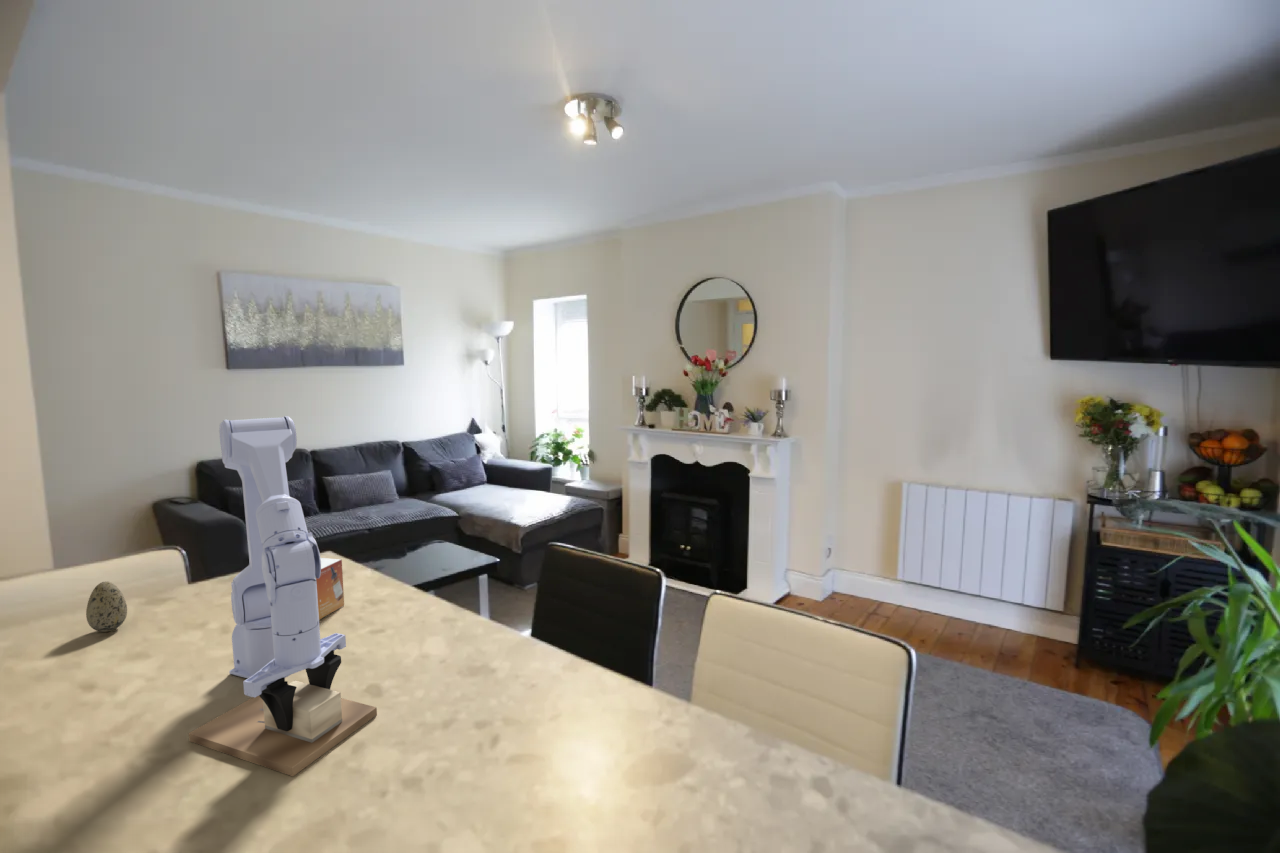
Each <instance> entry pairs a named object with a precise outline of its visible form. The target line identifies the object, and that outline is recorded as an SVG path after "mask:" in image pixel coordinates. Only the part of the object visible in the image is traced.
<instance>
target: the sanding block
mask: <svg viewBox="0 0 1280 853" xmlns="http://www.w3.org/2000/svg"><path fill="white" fill-rule="evenodd" d="M288 685H292V686H295V687H297V688H296V690H295V694H294V698H293V707H292V711H293V726H292V729H291V730H289V731H283V730H280V729H277V726H276V723H275V720H274V718H273V716H272V714H271V712H270V710H269V708H268V706H267V705H266V704H265V702H264V701H263V708H264V720H265V729H269V730H272V731H275V732H279V733H282V734H285V735H288V736H292V737H295V738H298V739H301V740H305V741H308V742H311V743H313V742H314V741H315V740H317V739H318V738H320V737H321V736H323V735H324V734H325V733H327V732H328V731H330V730H331V729H333V728H334V727H335V726H337V725H338V724H340V723H341V722H342V708H341V698H342V696H341V695H342V694H341V691H336V690H333V689H331V688H330V689H326V688H322V687H318V686H314V685H310V684H309V683H306V682H302V681H298V680H293V681H291V682H290V683H288Z"/></svg>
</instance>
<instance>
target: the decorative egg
mask: <svg viewBox="0 0 1280 853" xmlns="http://www.w3.org/2000/svg"><path fill="white" fill-rule="evenodd" d="M89 595H90V596H89V598H88V600H87V606H86V609H85V610H86V611H85V613H86V614H85V615H86V621H87V623H88V624H87V625H89V627H90V628H91V629H93V631H97V632H99V633H100V632H101V633H108V632H111V631H114V630H116V629H118V628H119V627H121V625H122V624H124V622H125V620H126V618H127V615H128V604H127V602H126V599H125V596H124V594H123V593H122V591H121V590H120V588H119V587H118V586H117V585H116V584H114V583H113V582H110V581H102V582H100V583H98V584H97V585H96V586H95V587H94V588H93V589H92V591H91V593H90V594H89Z"/></svg>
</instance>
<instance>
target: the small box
mask: <svg viewBox="0 0 1280 853" xmlns="http://www.w3.org/2000/svg"><path fill="white" fill-rule="evenodd" d="M320 558H321V575H320V578H316V576H315V578H314V579H316V582H317V598H318V612H319V621H320V620H322V619H323V618H324V617H327V616H329V615H330V614H332V613H334V612H335V611H337V610H339V609H341V608H343V607H344V606H345V594H344V593H345V592H344V591H345V590H344V578H343V577H344V576H343V560H342V559H339V558H327V557H320Z"/></svg>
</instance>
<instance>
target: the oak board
mask: <svg viewBox="0 0 1280 853" xmlns="http://www.w3.org/2000/svg"><path fill="white" fill-rule="evenodd" d="M341 708H342V722H341V723H340V724H338V725H337V726H335V727H334V728H333V729H331V730H330V731H328V732H327V733H325V734H324V735H323V736H321V737H320V738H318V739H317V740H315V741H314V742H313V743H311V742H308V741H305V740H301V739H298V738H295V737H292V736H288V735H285V734H282V733H279V732H275V731H272V730H269V729H265V720H264V708H263V700H262V698H261V697H260V696H257V697H255V698H254V697H250V698H249V699H247V700H246V701H244V702H242V703H240V704H239V705H236V706H235V707H233V708H231V709H228V710H227V711H225V712H224V713H222V714H221V715H219V716H217V717H215V718H213V719H211V720H209V721H207V722H206V723H204V724H202V725H201V726H198V727H197V728H196V729H193V730H192V731H190V732H188V741H189V742H191V743H193V744H196V745H200V746H202V747H204V748H208V749H210V750H215V751H217V752H220V753H223V754H226V755H229V756H231V757H234V758H238V759H241V760H244V761H246V762H248V763H249V762H250V763H252V764H256V765H258V766H260V767H264V768H266V769H270V770H273V771H276V772H279V773H282V774H284V775H288V776H291V777H294V776H296V775H297V774H299V773H300V772H301V771H302V770H304V769H306V767H308V766H310V765H311V764H312V763H313V762H315V761H316V760H318V759H319V758H320V757H322V756H323V755H325V754H326V753H327V752H328V751H330V750H331V749H333V748H335V746H336V745H338V744H339V743H341V742H342V741H344V740H345V739H346V738H348V737H349V736H350V735H351V734H353V733H354V732H356V731H357V730H358V729H360V728H361V727H362V726H364V725H366V723H368V722H370V721H371V720H372V719H373V718H375V717H376V716H378V711H377V710H378V709H377V706H372V705H370V704H365V703H361V702H357V701H354V700H350V699H347V698H343V697H341Z"/></svg>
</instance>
